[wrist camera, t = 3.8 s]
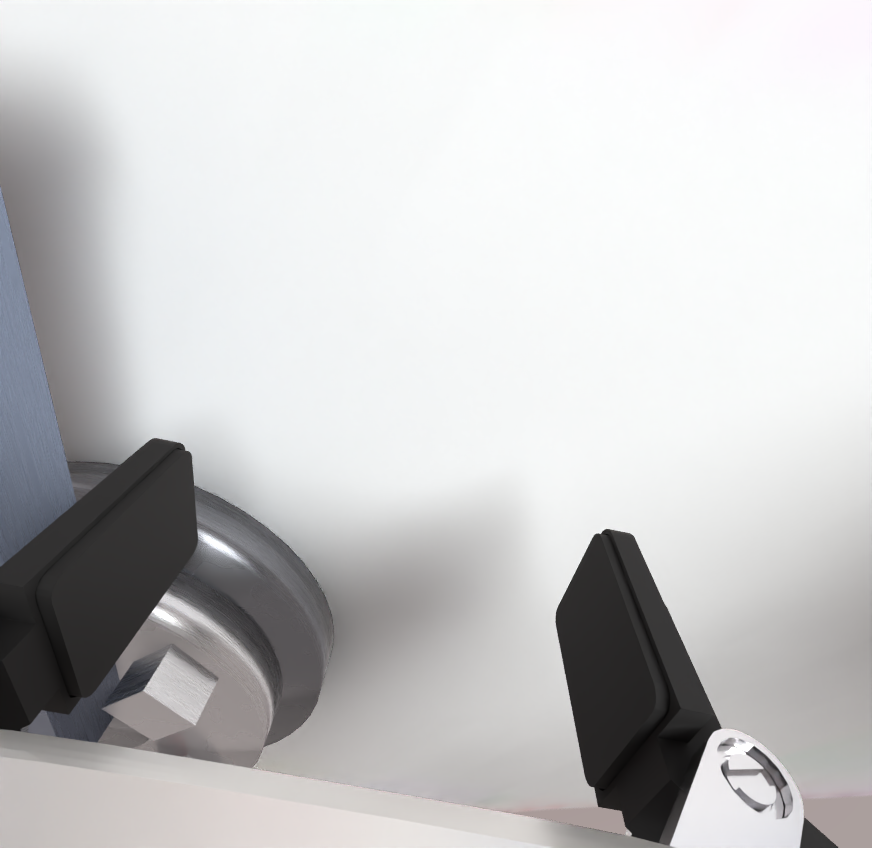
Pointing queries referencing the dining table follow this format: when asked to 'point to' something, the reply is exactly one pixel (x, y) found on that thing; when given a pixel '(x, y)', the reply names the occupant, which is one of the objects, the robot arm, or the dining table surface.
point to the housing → (256, 592)
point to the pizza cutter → (169, 621)
